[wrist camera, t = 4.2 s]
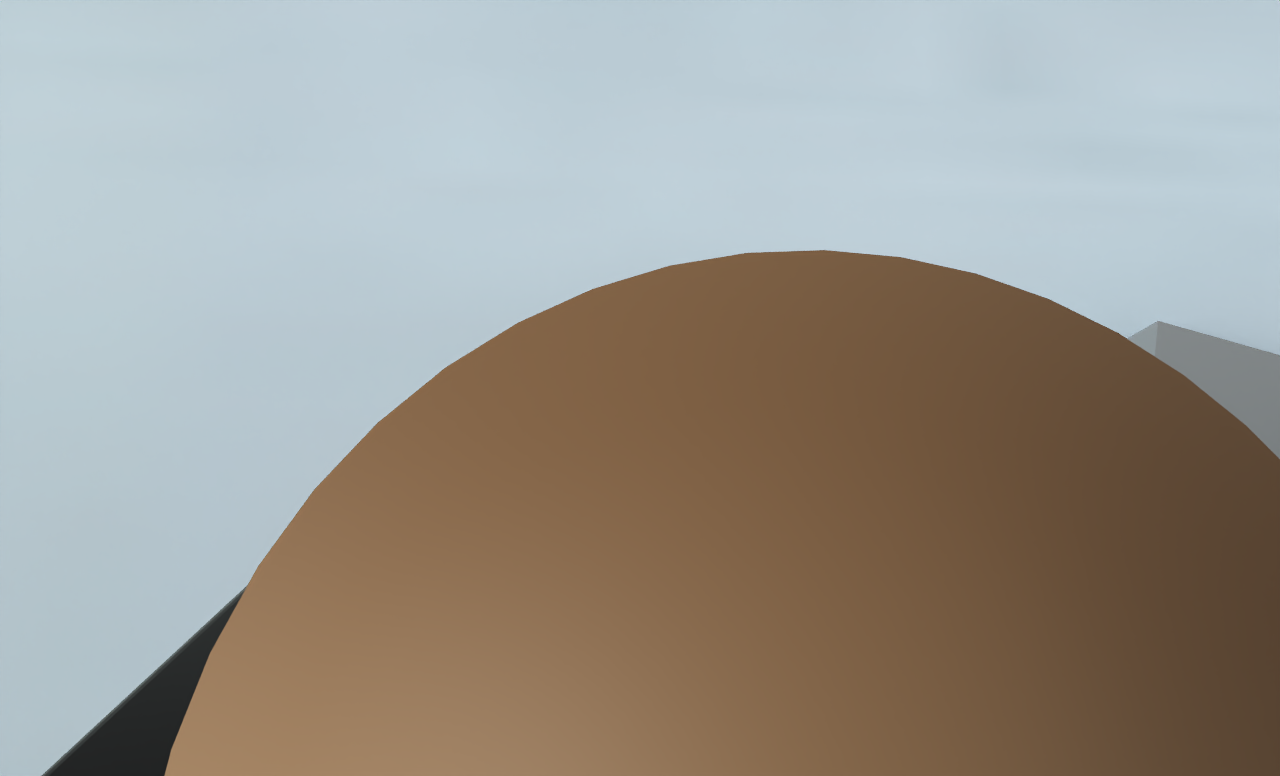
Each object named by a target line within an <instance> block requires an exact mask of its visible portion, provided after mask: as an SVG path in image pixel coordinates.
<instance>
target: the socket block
mask: <svg viewBox="0 0 1280 776" xmlns="http://www.w3.org/2000/svg"><path fill="white" fill-rule="evenodd" d="M1128 340H1130V341H1131V342H1133V343H1134V344H1136V345H1138V346H1139V347H1141V348H1142V349H1144V350H1145V351H1147V352H1148V353H1150V354H1152V355H1153V356H1155V357H1156V358H1158V359H1159V360H1161V361H1163V362H1164V363H1166V364H1167V365H1169V366H1170V367H1172V368H1174V369H1175V370H1177V371H1178V372H1180V373H1181V374H1183V375H1184V376H1186V377H1187V378H1188V379H1189V380H1191V381H1192V382H1193V383H1194V384H1196V385H1197V386H1198V387H1199V388H1200V389H1202V390H1203V391H1204V392H1205V393H1207V394H1208V395H1209V396H1210V397H1212V398H1213V399H1214V400H1215V401H1217V402H1218V403H1219V404H1220V405H1222V406H1223V407H1224V408H1225V409H1226V410H1228V411H1229V412H1230V413H1231V414H1233V415H1234V416H1235V417H1236V418H1238V419H1239V420H1240V421H1241V422H1243V423H1244V424H1245V425H1246V426H1247V427H1248V428H1249V429H1250V430H1251V431H1252V432H1253V433H1254V434H1255V435H1256V436H1257V437H1258V438H1259V439H1260V440H1261V441H1262V442H1263V443H1264V444H1265V445H1266V446H1267V447H1268V448H1269V449H1270V450H1271V451H1272V452H1273V453H1274V454H1275V455H1276V456H1277V457H1278V458H1279V459H1280V355H1276V354H1273V353H1269V352H1266V351H1262V350H1259V349H1255V348H1252V347H1248V346H1245V345H1241V344H1238V343H1234V342H1230V341H1227V340H1223V339H1220V338H1216V337H1213V336H1209V335H1206V334H1202V333H1199V332H1195V331H1192V330H1188V329H1185V328H1181V327H1178V326H1174V325H1170V324H1167V323H1163V322H1160V321H1157V322H1155V323H1154V324H1152V325H1150V326H1148V327H1147V328H1145V329H1143V330H1141V331H1140V332H1138V333H1136V334H1134V335H1133V336H1131V337H1129V338H1128Z"/></svg>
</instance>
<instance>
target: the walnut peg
mask: <svg viewBox="0 0 1280 776" xmlns="http://www.w3.org/2000/svg"><path fill="white" fill-rule="evenodd" d="M165 776H1280V459H1279V458H1278V457H1277V456H1276V455H1275V454H1274V453H1273V452H1272V451H1271V450H1270V449H1269V448H1268V447H1267V446H1266V445H1265V444H1264V443H1263V442H1262V441H1261V440H1260V439H1259V438H1258V437H1257V436H1256V435H1255V434H1254V433H1253V432H1252V431H1251V430H1250V429H1249V428H1248V427H1247V426H1246V425H1245V424H1244V423H1243V422H1241V421H1240V420H1239V419H1238V418H1236V417H1235V416H1234V415H1233V414H1231V413H1230V412H1229V411H1228V410H1226V409H1225V408H1224V407H1223V406H1222V405H1220V404H1219V403H1218V402H1217V401H1215V400H1214V399H1213V398H1212V397H1210V396H1209V395H1208V394H1207V393H1205V392H1204V391H1203V390H1202V389H1200V388H1199V387H1198V386H1197V385H1196V384H1194V383H1193V382H1192V381H1191V380H1189V379H1188V378H1187V377H1186V376H1184V375H1183V374H1181V373H1180V372H1178V371H1177V370H1175V369H1174V368H1172V367H1170V366H1169V365H1167V364H1166V363H1164V362H1163V361H1161V360H1159V359H1158V358H1156V357H1155V356H1153V355H1152V354H1150V353H1148V352H1147V351H1145V350H1144V349H1142V348H1141V347H1139V346H1138V345H1136V344H1134V343H1133V342H1131V341H1130V340H1128V339H1127V338H1125V337H1123V336H1122V335H1120V334H1119V333H1117V332H1115V331H1113V330H1111V329H1109V328H1107V327H1105V326H1103V325H1101V324H1098V323H1096V322H1094V321H1092V320H1090V319H1088V318H1086V317H1084V316H1082V315H1080V314H1078V313H1076V312H1074V311H1072V310H1070V309H1068V308H1066V307H1064V306H1062V305H1060V304H1057V303H1055V302H1053V301H1051V300H1049V299H1047V298H1044V297H1041V296H1038V295H1035V294H1032V293H1030V292H1027V291H1024V290H1021V289H1018V288H1015V287H1012V286H1010V285H1007V284H1004V283H1001V282H998V281H995V280H992V279H990V278H987V277H984V276H981V275H978V274H975V273H970V272H966V271H961V270H957V269H952V268H948V267H943V266H938V265H934V264H929V263H925V262H920V261H915V260H911V259H906V258H902V257H892V256H881V255H870V254H859V253H848V252H837V251H826V250H819V251H791V252H763V253H744V254H738V255H732V256H726V257H720V258H714V259H708V260H702V261H696V262H690V263H684V264H678V265H672V266H668V267H664V268H661V269H658V270H654V271H651V272H648V273H644V274H641V275H638V276H634V277H631V278H628V279H624V280H621V281H618V282H615V283H611V284H608V285H605V286H601V287H598V288H595V289H592V290H590V291H587V292H585V293H583V294H581V295H579V296H576V297H574V298H572V299H570V300H568V301H565V302H563V303H561V304H559V305H556V306H554V307H552V308H550V309H548V310H545V311H543V312H541V313H539V314H536V315H534V316H532V317H530V318H528V319H525V320H523V321H521V322H519V323H517V324H515V325H514V326H512V327H510V328H509V329H507V330H506V331H504V332H502V333H501V334H499V335H498V336H496V337H494V338H493V339H491V340H489V341H488V342H486V343H485V344H483V345H481V346H480V347H478V348H477V349H475V350H473V351H472V352H470V353H468V354H467V355H465V356H464V357H462V358H460V359H459V360H457V361H455V362H454V363H452V364H451V365H449V366H447V367H446V368H445V369H443V370H442V371H441V372H440V373H438V374H437V375H436V376H435V377H434V378H432V379H431V380H430V381H429V382H427V383H426V384H425V385H424V386H422V387H421V388H420V389H419V390H418V391H416V392H415V393H414V394H413V395H411V396H410V397H409V398H408V399H407V400H405V401H404V402H403V403H402V404H400V405H399V406H398V407H397V408H395V409H394V410H393V411H392V412H391V413H389V414H388V415H387V416H386V417H384V418H383V419H382V420H381V421H379V422H378V423H377V424H376V425H375V426H374V427H373V428H372V429H371V431H370V432H369V433H368V434H367V435H366V436H365V437H364V438H363V439H362V440H361V441H360V442H359V443H358V444H357V445H356V446H355V447H354V448H353V449H352V451H351V452H350V453H349V454H348V455H347V456H346V457H345V458H344V459H343V460H342V461H341V462H340V463H339V464H338V465H337V466H336V467H335V468H334V469H333V471H332V472H331V473H330V474H329V475H328V476H327V477H326V478H325V479H324V480H323V481H322V482H321V483H320V484H319V485H318V486H317V487H316V488H315V490H314V491H313V492H312V494H311V495H310V496H309V498H308V499H307V500H306V502H305V503H304V505H303V506H302V507H301V509H300V510H299V511H298V513H297V514H296V515H295V517H294V518H293V520H292V521H291V522H290V524H289V525H288V526H287V528H286V529H285V531H284V532H283V533H282V535H281V536H280V537H279V539H278V540H277V541H276V543H275V544H274V546H273V547H272V548H271V550H270V551H269V552H268V554H267V555H266V556H265V558H264V559H263V561H262V562H261V563H260V565H259V566H258V568H257V570H256V571H255V573H254V575H253V577H252V579H251V580H250V582H249V584H248V586H247V588H246V589H245V591H244V593H243V595H242V597H241V598H240V600H239V602H238V604H237V606H236V607H235V609H234V611H233V613H232V615H231V616H230V618H229V620H228V622H227V624H226V625H225V627H224V629H223V631H222V633H221V634H220V636H219V638H218V640H217V642H216V643H215V645H214V647H213V649H212V651H211V652H210V655H209V657H208V660H207V662H206V665H205V667H204V670H203V672H202V675H201V677H200V680H199V682H198V684H197V687H196V689H195V692H194V694H193V697H192V699H191V702H190V704H189V707H188V709H187V712H186V714H185V717H184V719H183V722H182V724H181V727H180V729H179V732H178V734H177V737H176V739H175V742H174V744H173V747H172V749H171V753H170V757H169V761H168V764H167V768H166V772H165Z"/></svg>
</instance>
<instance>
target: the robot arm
mask: <svg viewBox="0 0 1280 776" xmlns="http://www.w3.org/2000/svg"><path fill="white" fill-rule="evenodd" d="M247 586H248V585H247ZM247 586H246V587H245V588H244V589H243V590H242V591H241V592H240V593H239V594H238V595H237V596H236V597H234V598H233V599H232V600H231V601H230V602H229V603H228V604H227V605H226V606H225V607H224V608H223V609H221V610H220V611H219V612H218V613H217V614H216V615H215V616H214V617H213V618H212V619H211V620H210V621H208V622H207V623H206V624H205V625H204V626H203V627H202V628H201V629H200V630H199V631H198V632H197V633H196V634H194V635H193V636H192V637H191V638H190V639H189V640H188V641H187V642H186V643H185V644H184V645H183V646H181V647H180V648H179V649H178V650H177V651H176V652H175V653H174V654H173V655H172V656H171V657H170V658H168V659H167V660H166V661H165V662H164V663H163V664H162V665H161V666H160V667H159V668H158V669H157V670H155V671H154V672H153V673H152V674H151V675H150V676H149V677H148V678H147V679H146V680H145V681H144V682H143V683H141V684H140V685H139V686H138V687H137V688H136V689H135V690H134V691H133V692H132V693H131V694H130V695H128V696H127V697H126V698H125V699H124V700H123V701H122V702H121V703H120V704H119V705H118V706H117V707H115V708H114V709H113V710H112V711H111V712H110V713H109V714H108V715H107V716H106V717H105V718H104V719H102V720H101V721H100V722H99V723H98V724H97V725H96V726H95V727H94V728H93V729H92V730H91V731H90V732H88V733H87V734H86V735H85V736H84V737H83V738H82V739H81V740H80V741H79V742H78V743H77V744H75V745H74V746H73V747H72V748H71V749H70V750H69V751H68V752H67V753H66V754H65V755H64V756H62V757H61V758H60V759H59V760H58V761H57V762H56V763H55V764H54V765H53V766H52V767H51V768H50V769H48V770H47V771H46V772H45V773H44V774H43V775H42V776H165V772H166V768H167V764H168V761H169V757H170V753H171V749H172V747H173V744H174V742H175V739H176V737H177V734H178V732H179V729H180V727H181V724H182V722H183V719H184V717H185V714H186V712H187V709H188V707H189V704H190V702H191V699H192V697H193V694H194V692H195V689H196V687H197V684H198V682H199V680H200V677H201V675H202V672H203V670H204V667H205V665H206V662H207V660H208V657H209V655H210V652H211V651H212V649H213V647H214V645H215V643H216V642H217V640H218V638H219V636H220V634H221V633H222V631H223V629H224V627H225V625H226V624H227V622H228V620H229V618H230V616H231V615H232V613H233V611H234V609H235V607H236V606H237V604H238V602H239V600H240V598H241V597H242V595H243V593H244V591H245V589H246V588H247Z"/></svg>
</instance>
